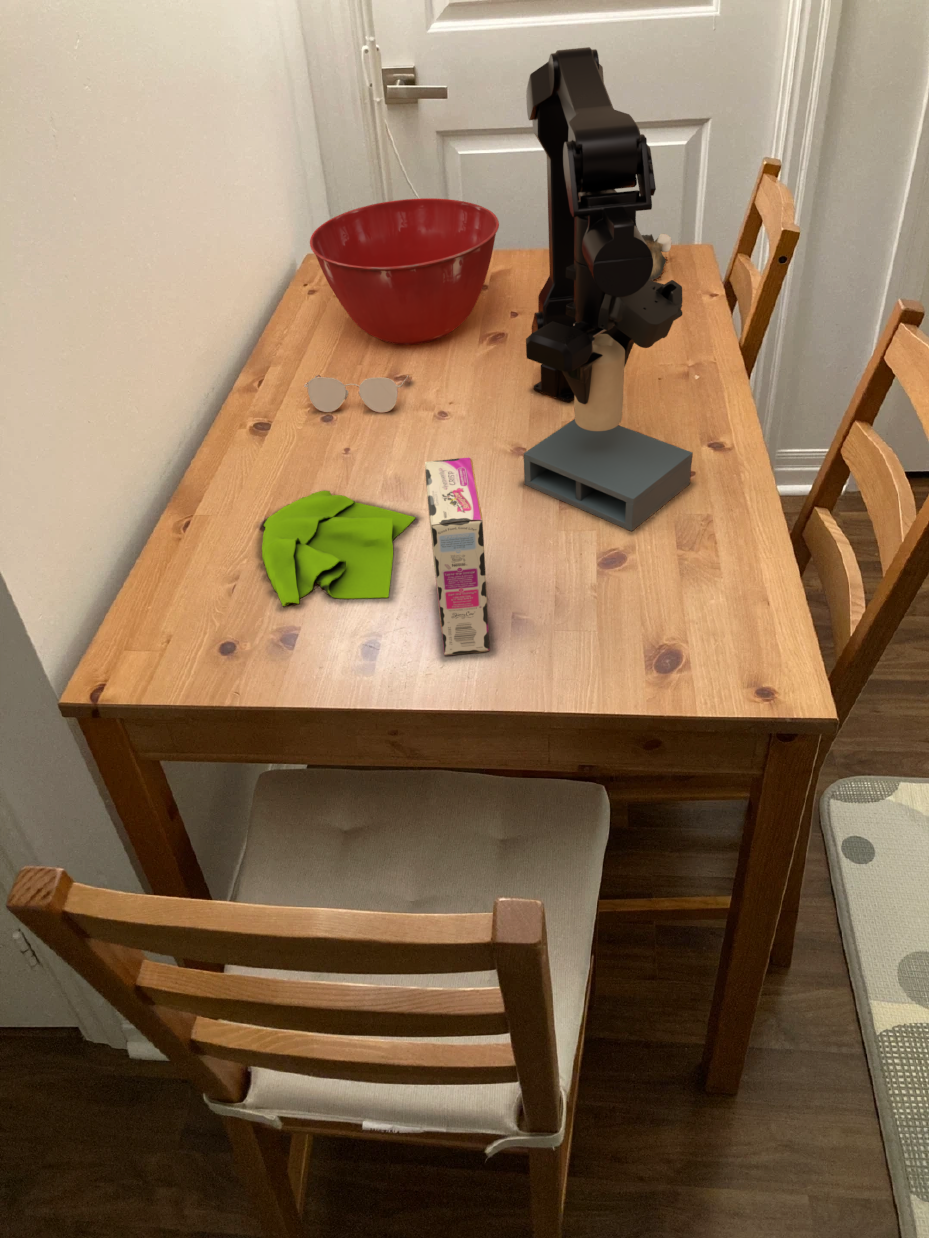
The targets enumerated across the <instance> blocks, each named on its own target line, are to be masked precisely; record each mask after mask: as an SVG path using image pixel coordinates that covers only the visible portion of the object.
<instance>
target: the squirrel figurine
mask: <svg viewBox="0 0 929 1238" xmlns="http://www.w3.org/2000/svg"><path fill="white" fill-rule="evenodd" d="M641 235H642V237H643V239H644V241H645V242H646V244H647V246H648V247H649V249H650V251H651V254H652V257H653V269H652V273H651V275H650V278H649V280H650V281H654V280H656V279H657V280H658V278H660V277H661V275H662V274H663V271H664V268H665V265H666V264H667V260H666V257H665V256H664V254H663V253H669V252H670V251H671V249H672V244H673V242H672V237H671V236H670V235H668V234H666V233H660V234H658V235H659V236H658V237H657V238H656V239H654V236H653V234H652V233H651V234H641Z"/></svg>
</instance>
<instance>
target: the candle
mask: <svg viewBox="0 0 929 1238" xmlns="http://www.w3.org/2000/svg"><path fill="white" fill-rule="evenodd" d="M593 352H596V353H599V354H602V355H603V356H602V357H601V358H600V359H599V360H597V361H596V362H595V363H594V364H593V365H592V374H591V383H590V393H589V398H588V403H586V404H582V403H580V402H578V400H577V398H576V397H575V398H574V400H573V401H574V402H573V403H574V407H573V409H574V412H573V414H574V419H575V422H576V424H577V425H578V426H579V427H581V428H583V429H586V430H590V431H606V430H610V429H613V428H615V427H617V426H618V425H620V424H621V423H622V419H623V409H624V408H623V407H624V383H625V368H624V364H625V349H624V348H623V347H622V346H621V345H620V344H619V343H618V342H617V341H615V340H614V339H613V338H611V337H610V336H609V335H608V334H600V335H598V336H596V337H595V342H594V345H593Z"/></svg>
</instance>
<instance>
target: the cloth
mask: <svg viewBox="0 0 929 1238" xmlns="http://www.w3.org/2000/svg"><path fill="white" fill-rule="evenodd" d="M415 520H416V516H412V515H409V514H405V513H401V512H398V511H394V510H390V509H386V508H382V507H378V506H375V505H370V504H369V505H368V504H365V503H362V502H356V501H355V500H353V499H351V498H350V497H348V496H346V495H342V494H332V493H331V492H330V490H321V491H316V492H313V493H311V494H309V495H306V496H302V497H300V498H298V499H297V500H295V501H293V502H291V503H289V504H287V505H285V506H283V507H281V508H280V509H279V510H277V511H275V513H273V514H271V515H269V516H268V517H267V518H266V519H265V521H264V523H263V524H262V526H263V527H264V530H263V533H262V534H263V535H262V544H261V555H262V556H261V558H262V562H263V565H264V567H265V572H266V575H267V578H269V581H270V584H271V586H272V589H273V590H274V592H275V593H276V594H277V597H278V598H279V601H280V603H281V606H282V607H287V606H289V605H291V604H297V605H299V604H300V599H302V598H304V597H305V596H307V595H308V594H310V593H311V592H312V591H313V590H314V583H315V584H317V585H319V586H320V589H323V590H325V592H326V594H328V595H329V596H330V597H332V598H334V599H342V600H343V599H344V600H345V599H347V600H348V599H349V600H350V599H351V600H353V599H354V600H355V599H356V600H357V599H388V598H389V597H390V596H389V595H390V589H391V579H392V573H393V561H394V544H393V542H394V540H395V539H396V538H397V537H398V536H399V535H400V534H402V533H403V532H405V530H407V528H408V527H409V526H410V525H411V524H412V523H413V522H414V521H415Z"/></svg>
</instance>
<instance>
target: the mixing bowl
mask: <svg viewBox="0 0 929 1238" xmlns="http://www.w3.org/2000/svg"><path fill="white" fill-rule="evenodd" d="M499 227H500V221H499V218H498V216H497V215H496V214H495V213H493V211H491V210H490V209H489V208H487V207H484V206H481V205H479V204H475V203H473V202H468V201H464V200H459V199H458V200H457V199H449V198H431V197H430V198H429V197H428V198H423V197H422V198H406V199H397V200H389V201H384V202H383V201H382V202H378V203H372V204H368V205H365V206H361V207H358V208H355V209H352V210H348V211H345V212H344V213H341V214H338V215H336V216H334V217H332V218H330V219H328V220H327V221H325V222H323V224H321V225H319V226H318V227H317V228H316V229H315V230H314V231H313V233H312V234H311V236H310V238H309V247H310V249H311V251H312V253H313V254H314V255H315V257H316V259H317V261H318V264H319V267H320V269H321V271H322V273H323V276H324V278H325V280H326V282H327V283H328V285H329V287H330V289H331V290H332V293H333V294H334V296H335V297H336V299H337V300H338V303H339V304H340V305H341V307H342V308H343V309H344V310H345V312H346V314H347V315H348V316H349V317H350V319H351V320H352V321H353V323H355V325H356V326H357V327H358V328H359V329H361V330H362V331H363V332H365V333H366V334H368V335H370V336H372V337H374V338H377V339H379V340H381V341H382V342H385V343H388V344H394V345H400V346H409V345H410V346H412V345H421V344H426V343H430V342H434V341H437V340H440V339H442V338H445V337H447V336H448V335H450V334H451V333H452V332H454V330H455V329H457V328H458V327H460V326H461V325H462V324H463V323H464V322H466V321H467V319H468V317H470V315H471V313H472V312H473V310H474V308H475V306H476V304H477V302H478V300H479V297H480V295H481V292H482V290H483V287H484V285H485V281H486V279H487V275H488V273H489V268H490V266H491V262H492V261H491V260H492V256H493V251H494V247H495V240H496V236H497V235H496V234H497V233H498V231H499Z"/></svg>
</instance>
